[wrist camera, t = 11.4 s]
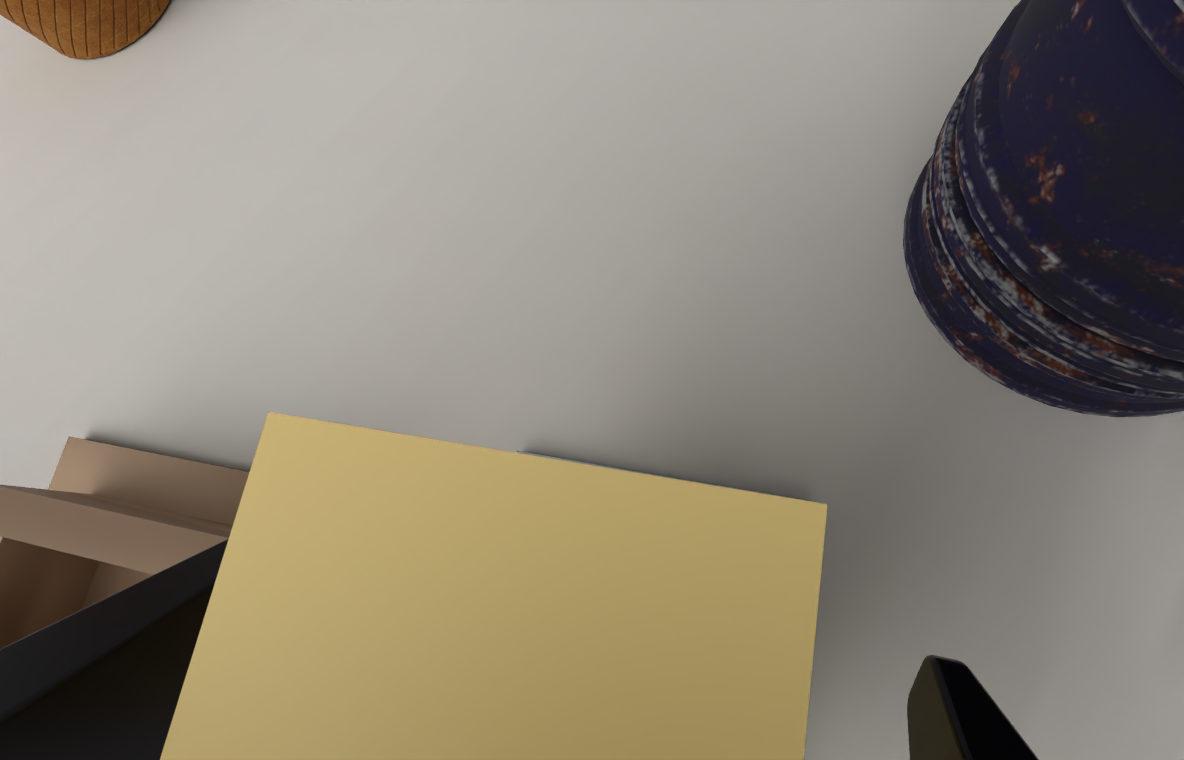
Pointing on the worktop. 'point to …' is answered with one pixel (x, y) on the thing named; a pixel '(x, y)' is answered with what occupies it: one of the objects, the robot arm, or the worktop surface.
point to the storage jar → (1063, 209)
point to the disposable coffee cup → (84, 23)
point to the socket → (104, 529)
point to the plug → (498, 610)
